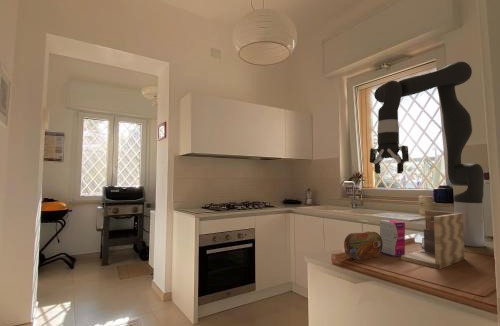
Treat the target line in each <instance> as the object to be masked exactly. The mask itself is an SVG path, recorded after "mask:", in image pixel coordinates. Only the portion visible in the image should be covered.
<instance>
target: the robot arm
mask: <svg viewBox="0 0 500 326" xmlns="http://www.w3.org/2000/svg"><path fill="white" fill-rule="evenodd" d="M472 71H473V70H472V66H471V65H470V64H469V63H468V62H465V61H455V62H453V63H451V64H448V65H446V66H444V67H442V68H440V69H438V70H435V71H432V72H427V73H423V74H419V75H418V74H417V75H414V76H410V77H407V78H402V79H400V80H398V81H397V80H389V81H387V82H385V83H384V84H382V85H380V86H379V87H377V88H376V89H375V91H374V94H373V95H374V99H375V100H376V101H377V102H379V103H382V106H381V107H379V109H378V112H377V114H378V115H377V118H378V119H377V120H378V122H377V123H378V124H377V148H372V147H371V148H369V149H370V150H369V152H370V153H369V164H370V163H371V164H373V166H374V172H375V174H377V175H379V174H381V163H382V161H383V160H385V159H394V160H395V161H396V162H397V164H396V167H397V169H396V173H397V174H402V173H403V172H404V163H407V162H409V160H410V156H409V147H408V145H401V146H400V125H399V108H400V105H401V100H402V98H403V97H408V96H412V95H416V94H419V93H423V92H426V91H428V90H431V89H434V88H436V89H437V94H438V97H439V102H440V107H441V113H442V121H443V122H442V123H443V130H444V136H445V137H444V138H445V143H446V153H447V157H446V159H447V160H446V161H447V176H448V177H447V178H448V180H449V182H450V184H452V185H453V186H462V187H463V186H464V187H465V186H466V187H467V189H466V190H465V191H463V192H460V193H458V194H454V196H453V208H454V210H453V211H454V212H453V213H463V225H464V246H467V247H474V248H476V247H477V248H483V247H485V233H484V231H485V230H484V229H485V227H484V226H485V225H484V210H483V209H484V207H483V198H484V186H485V185H484V183H485V182H484V181H485V179H484V178H485V177H484V176H485V173H484V169H483V167H482V165H481V164H479V163H462V153H463V150H464V148H465V146H466V144H467V143H468V141H469V140H470V137H471V136H472V134H473V126H472V119H471V115H470V113H469V111H468V110H467V109H466V108H465V107H464V105H463V104H462V103H461V102H460V101H459V99H458V98H457V94H456V87H457V86H460V85H462V84H464V83H466V82H468V81H469V80H470V78H471V76H472V74H473V72H472ZM399 152H401V155H400V154H399Z"/></svg>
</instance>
